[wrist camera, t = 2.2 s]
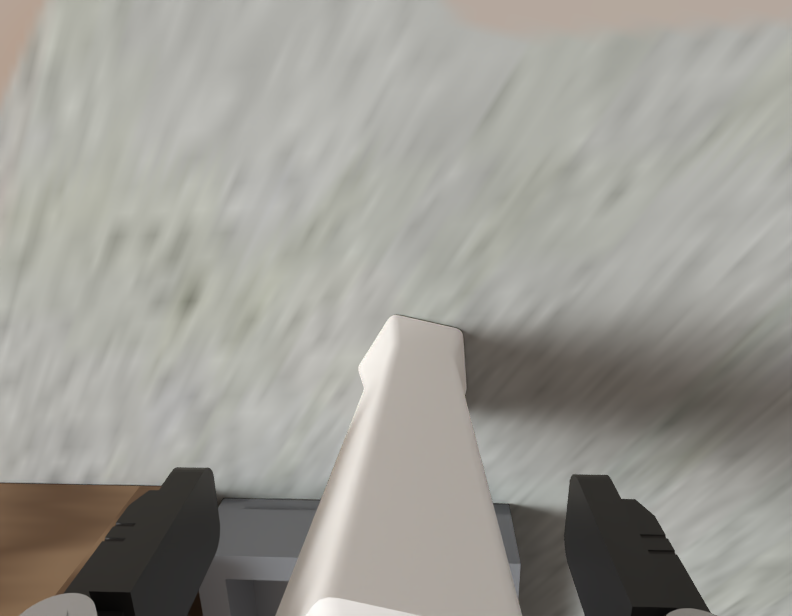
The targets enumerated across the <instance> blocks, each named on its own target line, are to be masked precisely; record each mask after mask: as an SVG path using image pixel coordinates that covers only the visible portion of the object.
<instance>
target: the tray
mask: <svg viewBox="0 0 792 616" xmlns="http://www.w3.org/2000/svg"><path fill="white" fill-rule="evenodd" d="M320 501H321V500H278V499H230V498H223V500H222V502H221V504H220V506H219V507H218V512H219V520H220V538H219V544H218V548H217V551H216V554H215V556H214V558H213V561H212V563H211V565H210V567H209V569H208V571H207V574H206V576H205V578H204V580H203V582H202V584H201V586H200V589H199V594H200V600H201V606H202V612H203V616H275V615H276V613H277V610H278V608H279V605H280V603H281V600H282V597H283V595H284V592H285V590H286V587H287V585H288V582H289V580H290V577H291V575H292V572H293V569H294V567H295V564H296V562H297V559H298V557H299V554H300V552H301V549H302V546H303V544H304V541H305V539H306V536H307V534H308V531H309V529H310V526H311V524H312V521H313V518H314V516H315V513H316V511H317V508H318V506H319V503H320ZM493 506H494V509H495V513H496V517H497V521H498V525H499V529H500V532H501V536H502V540H503V544H504V548H505V552H506V555H507V559H508V563H509V567H510V571H511V575H512V578H513V582H514V586H515V590H516V594H517V597H518V598H519V582H520V567H521V563H520V558H519V553H518V548H517V543H516V538H515V533H514V528H513V523H512V518H511V513H510V508H509V504H493Z"/></svg>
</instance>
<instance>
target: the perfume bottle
mask: <svg viewBox="0 0 792 616" xmlns="http://www.w3.org/2000/svg"><path fill="white" fill-rule="evenodd" d="M358 369H359V374H360V377H361V380H362V383H363V386H364V391H363V393H362V396H361V399H360V401H359V404H358V406H357V409H356V411H355V414H354V416H353V419H352V421H351V424H350V427H349V429H348V432H347V434H346V437H345V439H344V442H343V444H342V447H341V450H340V452H339V455H338V457H337V460H336V462H335V465H334V467H333V470H332V472H331V475H330V478H329V480H328V483H327V485H326V488H325V490H324V493H323V495H322V498H321V501H320V503H319V506H318V508H317V511H316V513H315V516H314V518H313V521H312V524H311V526H310V529H309V531H308V534H307V536H306V539H305V541H304V544H303V546H302V549H301V552H300V554H299V557H298V559H297V562H296V564H295V567H294V569H293V572H292V575H291V577H290V580H289V582H288V585H287V587H286V590H285V592H284V595H283V597H282V600H281V603H280V605H279V608H278V610H277V613H276V615H275V616H522V613H521V609H520V605H519V601H518V597H517V594H516V590H515V586H514V582H513V578H512V575H511V571H510V567H509V563H508V559H507V555H506V552H505V548H504V544H503V540H502V536H501V532H500V529H499V525H498V521H497V517H496V513H495V509H494V506H493V502H492V498H491V494H490V490H489V487H488V483H487V479H486V475H485V471H484V467H483V464H482V460H481V456H480V452H479V448H478V444H477V441H476V437H475V433H474V429H473V425H472V421H471V418H470V414H469V410H468V406H467V402H466V399H465V394H466V390H467V385H466V370H465V356H464V341H463V334H462V332H461V331H460V330H459V329H457V328H454V327H449V326H445V325H440V324H436V323H431V322H427V321H422V320H418V319H414V318H409V317H405V316H400V315H393V316H391V317H390V318H389V319H388V320H387V322H386V323H385V325H384V326H383V328H382V330H381V331H380V333H379V334H378V336H377V338H376V339H375V341H374V342H373V344H372V346H371V347H370V349H369V351H368V352H367V354H366V355H365V357H364V359H363V360H362V362H361V363H360V365H359V368H358Z"/></svg>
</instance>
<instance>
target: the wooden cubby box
mask: <svg viewBox="0 0 792 616" xmlns="http://www.w3.org/2000/svg"><path fill="white" fill-rule="evenodd" d="M160 488H161V486H118V485H66V484H15V483H0V616H19V615H20V614H21V613H23V612H24V611H25V610H27V609H28V608H30V607H31V606H33V605H34V604H36V603H38V602H40V601H42V600H44V599H47V598H49V597H52V596H56V595H60V594H63V593H64V592H65V590H66V589H67V588H68V586H69V585H70V584H71V582H72V581H73V580H74V578H75V577H76V576H77V574H78V573H79V572H80V570H81V569H82V567H83V566H84V565H85V563H86V562H87V561H88V559H89V558H90V557H91V555H92V554H93V553H94V551H95V550H96V549H97V547H98V546H99V545H100V543H101V542H102V541H104V540H105V537H106V535H107V534H108V532H109V531H110V530H111V528H112V527H113V526H115V525H116V522H117V520H118V519H119V518H120V516H121V515H122V514H123V512H124V511H125V510H126V508H127V507H128V506H129V505H130V504H131V503H132V502H134V501H135V500H136V499H138V498H139V497H141V496H142V495H143V494H145V493H146V492H147V491H149V490H159V489H160ZM187 616H203V612H202V606H201V600H200V594H199V591H198V593H197V595H196V597H195V599H194V602H193V604H192V606H191V608H190V610H189V612H188V614H187Z"/></svg>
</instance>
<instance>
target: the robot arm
mask: <svg viewBox="0 0 792 616" xmlns="http://www.w3.org/2000/svg"><path fill="white" fill-rule="evenodd" d="M219 538H220V520H219V512H218V505H217V498H216V490H215V483H214V476H213V472H212V470H211V469H210V468H181V467H177V468H175V469H173V471H172V472H171V473H170V475H169V476H168V478H167V479H166V480H165V482H164V483H163V485H162V486H161V488H160V489H159V490H149V491H147V492H146V493H145V494H143V495H142V496H141V497H139V498H138V499H136V500H135V501H134V502H132V503H131V504H130V505H129V506H128V507H127V508H126V510H125V511H124V512H123V514H122V515H121V516H120V518H119V519H118V520H117V522H116V525H115V526H113V527H112V528H111V530H110V531H109V532H108V534H107V535H106V537H105V540H104V541H102V542H101V543H100V545H99V546H98V547H97V549H96V550H95V551H94V553H93V554H92V555H91V557H90V558H89V559H88V561H87V562H86V563H85V565H84V566H83V567H82V569H81V570H80V572H79V573H78V574H77V576H76V577H75V578H74V580H73V581H72V582H71V584H70V585H69V586H68V588H67V589H66V590H65V592H64V593H63V594H60V595H56V596H52V597H49V598H47V599H44V600H42V601H40V602H38V603H36V604H34V605H33V606H31V607H30V608H28V609H27V610H25V611H24V612H23V613H21V614H20V615H19V616H187V614H188V612H189V610H190V608H191V606H192V604H193V602H194V599H195V597H196V595H197V593H198V591H199V589H200V586H201V584H202V582H203V580H204V578H205V576H206V574H207V571H208V569H209V567H210V565H211V563H212V561H213V558H214V556H215V554H216V551H217V548H218V544H219ZM564 540H565V552H566V558H567V562H568V565H569V568H570V571H571V574H572V577H573V580H574V583H575V587H576V590H577V593H578V596H579V599H580V602H581V605H582V608H583V611H584V614H585V616H717V615H714V614H712V613H711V612H710V611H709V609H708V607H707V606H706V604H705V602H704V600H703V599H702V597H701V595H700V593H699V592H698V590H697V588H696V587H695V585H694V583H693V581H692V580H691V578H690V576H689V575H688V573H687V571H686V569H685V568H684V566H683V564H682V562H681V561H680V559H679V557H678V556H677V555H675V550H674V549H673V547H672V545H671V543H670V542H669V540H668V539H666V537H665V533H664V531H663V530H662V528H661V526H660V524H659V523H658V521H657V519H656V518H655V516H654V515H653V514H652V513H651V512H649V511H648V510H647V509H646V508H645V507H643V506H642V505H641V504H640V503H639V502H638V501H636V500H635V499H621V498H620V496H619V494H618V492H617V490H616V488H615V486H614V484H613V482H612V480H611V479H610V477H609V476H608V475H572V476H571V479H570V485H569V494H568V504H567V513H566V523H565V534H564Z"/></svg>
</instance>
